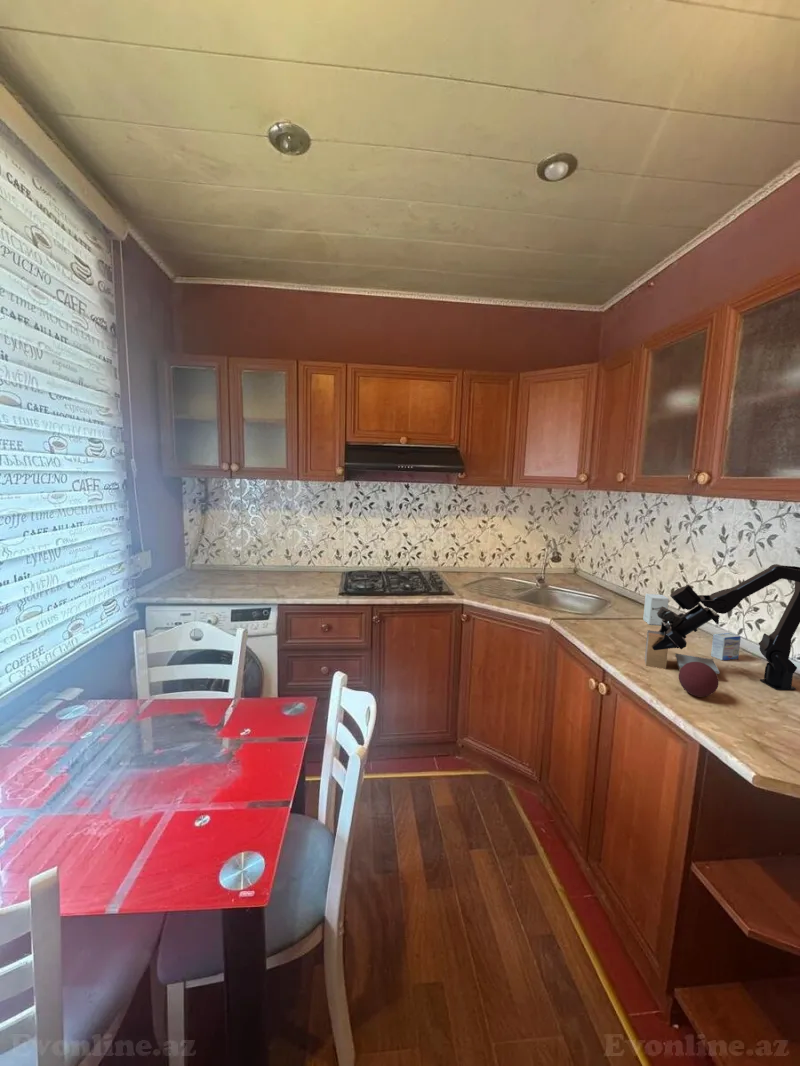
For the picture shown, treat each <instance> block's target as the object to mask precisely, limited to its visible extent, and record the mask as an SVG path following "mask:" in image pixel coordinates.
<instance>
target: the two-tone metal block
mask: <svg viewBox="0 0 800 1066" xmlns="http://www.w3.org/2000/svg"><path fill="white" fill-rule="evenodd" d="M658 631H659V630H658ZM658 631H656V630H651V629H649V630H648V629H647V631H646V632H647V633H646V644H645V655H644V662H645V667H652V668H656V667H657V669H662V668H663V669H662V670H666V669H667V661H668V652H669V651H668V650H669V649H661V650H653V648H652V647H653V646H654V645H655V644H657V643H658V642H659V641H660V640H661V639H662V638H663V637H664V632H658Z"/></svg>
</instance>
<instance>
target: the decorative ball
mask: <svg viewBox="0 0 800 1066" xmlns="http://www.w3.org/2000/svg"><path fill="white" fill-rule="evenodd" d="M678 671H679V670H678ZM678 681H679V684H680V686H681V687H682V688H683V689H684V690H685V691H686V692H687V693H688V694H691V695H692V696H695V697H698V698H699V697H701V698H703V697H704V698H705V697H709V696H711V695H712V694H714V693H715V692H716V691H717V689H718V688H719V676H718V674H716V673H715V671H714V670H713V669H712V668H711V667H710V666H708V665H706V664H704V663H701V662H690V663H687V664H685V665H684V666H683V667H682V668H681V669H680V671H679V672H678Z"/></svg>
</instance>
